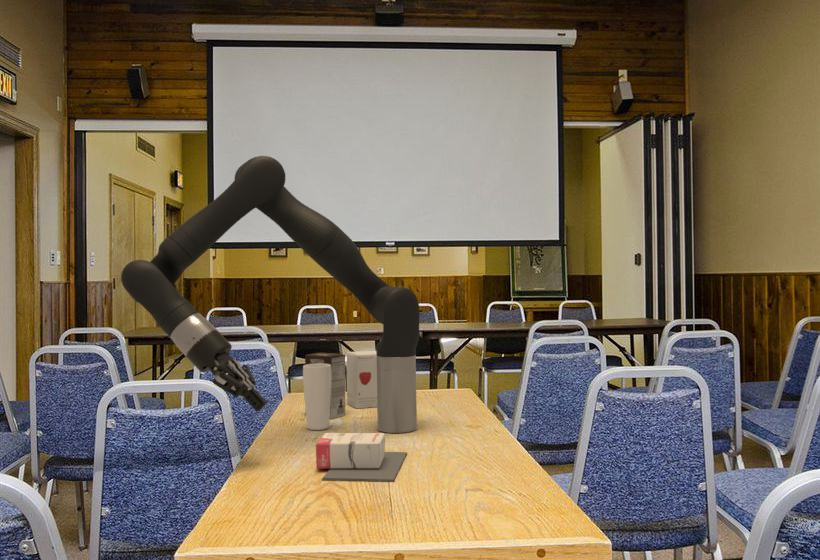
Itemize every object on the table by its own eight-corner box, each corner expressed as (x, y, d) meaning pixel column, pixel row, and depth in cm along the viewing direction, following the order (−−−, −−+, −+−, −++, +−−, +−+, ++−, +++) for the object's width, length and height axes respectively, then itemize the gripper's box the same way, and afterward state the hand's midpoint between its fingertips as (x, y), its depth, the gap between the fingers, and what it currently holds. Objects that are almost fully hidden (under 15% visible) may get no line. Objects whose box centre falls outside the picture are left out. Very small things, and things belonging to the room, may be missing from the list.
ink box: (315, 469, 116) (380, 470, 115) (315, 442, 116) (379, 442, 115) (325, 457, 124) (385, 457, 124) (325, 431, 125) (385, 432, 124)
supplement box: (356, 409, 175) (355, 354, 175) (346, 403, 183) (345, 351, 183) (387, 406, 179) (386, 352, 179) (376, 401, 187) (375, 350, 187)
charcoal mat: (345, 453, 129) (345, 451, 129) (406, 454, 127) (406, 452, 127) (322, 480, 111) (322, 477, 111) (393, 481, 109) (393, 479, 109)
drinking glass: (298, 430, 150) (297, 366, 150) (313, 424, 156) (312, 363, 156) (323, 432, 147) (322, 367, 148) (337, 426, 154) (336, 363, 154)
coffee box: (304, 416, 167) (303, 354, 167) (320, 411, 172) (319, 352, 172) (331, 419, 162) (330, 356, 162) (347, 415, 167) (346, 353, 167)
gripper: (199, 330, 116) (264, 399, 114) (227, 326, 129) (286, 388, 127) (171, 359, 116) (235, 428, 115) (202, 352, 130) (261, 414, 128)
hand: (262, 407), depth 121 cm, fingers closed
